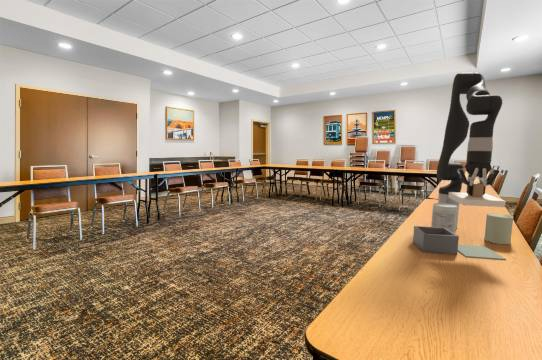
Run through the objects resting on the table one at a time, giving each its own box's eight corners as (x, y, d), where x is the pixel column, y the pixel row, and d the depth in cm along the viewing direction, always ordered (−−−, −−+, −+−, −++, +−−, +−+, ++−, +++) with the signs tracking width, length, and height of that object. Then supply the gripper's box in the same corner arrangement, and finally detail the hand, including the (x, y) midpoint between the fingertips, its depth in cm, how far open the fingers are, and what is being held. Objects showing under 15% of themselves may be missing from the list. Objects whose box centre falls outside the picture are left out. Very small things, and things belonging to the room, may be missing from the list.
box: (412, 242, 120) (414, 226, 119) (443, 244, 118) (445, 227, 117) (422, 251, 108) (423, 234, 107) (457, 254, 106) (458, 236, 105)
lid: (448, 197, 116) (450, 179, 115) (485, 198, 113) (487, 181, 112) (463, 205, 103) (465, 185, 102) (505, 207, 100) (507, 187, 99)
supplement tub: (435, 232, 135) (437, 202, 134) (458, 237, 128) (461, 205, 127) (427, 235, 129) (429, 204, 128) (450, 241, 122) (453, 207, 121)
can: (511, 246, 117) (514, 217, 115) (483, 241, 122) (486, 214, 121) (510, 240, 124) (513, 214, 123) (483, 236, 129) (486, 211, 128)
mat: (449, 244, 117) (449, 243, 117) (484, 247, 115) (484, 246, 115) (465, 256, 104) (465, 255, 104) (505, 259, 101) (505, 258, 101)
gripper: (495, 150, 108) (490, 194, 110) (454, 149, 111) (450, 193, 113) (507, 150, 101) (502, 198, 103) (463, 149, 104) (459, 196, 105)
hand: (475, 195), depth 108 cm, fingers closed on lid, 3 cm apart
